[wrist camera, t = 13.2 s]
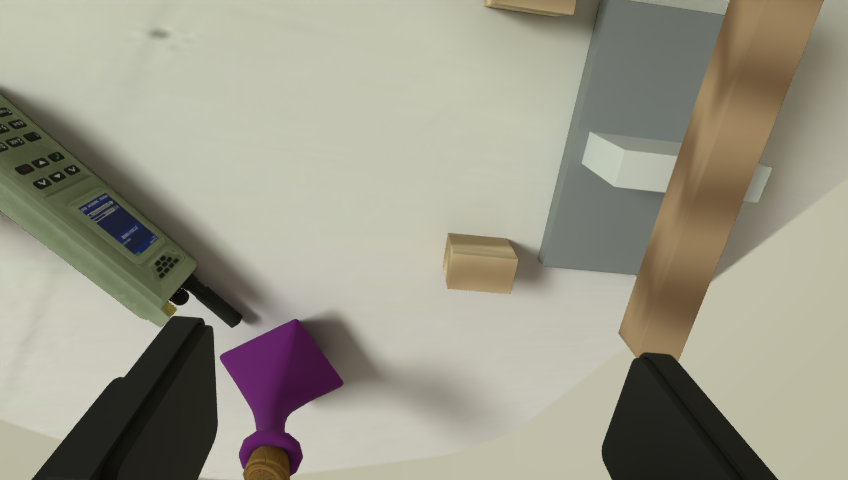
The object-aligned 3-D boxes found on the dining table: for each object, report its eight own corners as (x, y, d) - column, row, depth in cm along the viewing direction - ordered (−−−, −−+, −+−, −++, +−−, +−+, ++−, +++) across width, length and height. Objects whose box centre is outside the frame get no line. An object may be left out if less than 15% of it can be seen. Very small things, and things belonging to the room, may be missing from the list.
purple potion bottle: (303, 298, 42) (243, 472, 25) (348, 360, 45) (319, 554, 28) (230, 333, 43) (127, 524, 26) (278, 392, 46) (212, 598, 29)
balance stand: (600, -1, 34) (653, -10, 27) (760, 23, 35) (849, 21, 28) (538, 258, 41) (566, 303, 35) (670, 270, 43) (723, 317, 36)
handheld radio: (-16, 68, 34) (257, 303, 42) (-41, 100, 35) (231, 324, 43) (-110, 80, 28) (230, 351, 36) (-138, 118, 28) (201, 374, 37)
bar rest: (491, -44, 32) (504, -53, 29) (564, -33, 33) (585, -40, 29) (443, 265, 41) (447, 288, 38) (500, 270, 42) (510, 294, 38)
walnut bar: (742, -37, 27) (782, -44, 24) (792, -28, 27) (837, -35, 24) (618, 332, 36) (636, 358, 33) (656, 336, 36) (678, 361, 33)
